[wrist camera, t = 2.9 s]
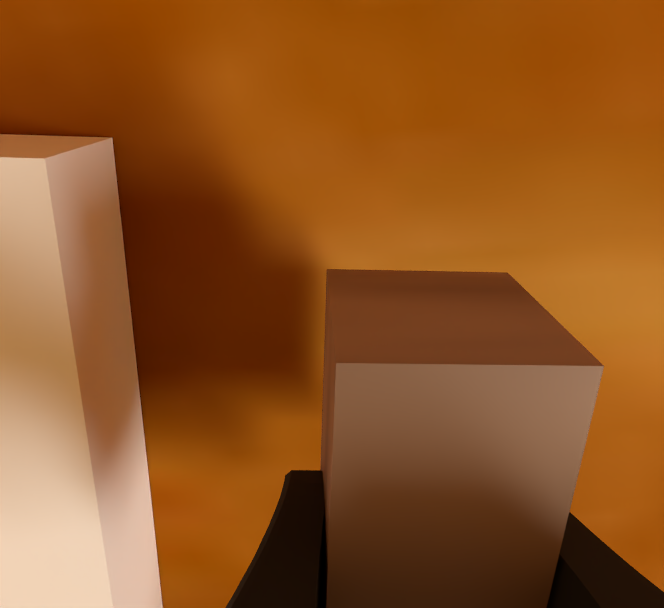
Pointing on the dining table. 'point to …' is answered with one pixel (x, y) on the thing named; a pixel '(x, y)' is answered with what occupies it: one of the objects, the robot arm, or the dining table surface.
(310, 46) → the dining table surface
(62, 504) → the white rectangular box
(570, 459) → the rail end
